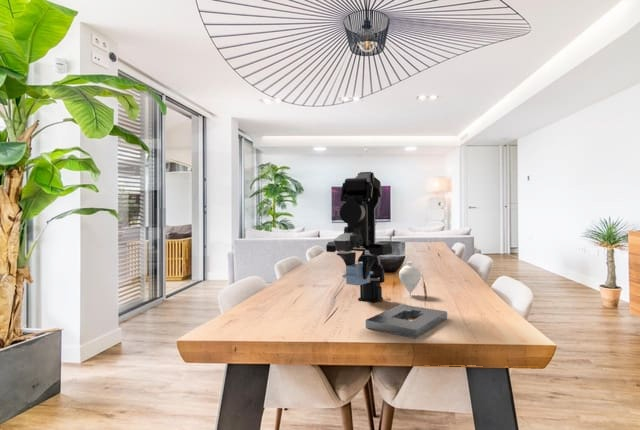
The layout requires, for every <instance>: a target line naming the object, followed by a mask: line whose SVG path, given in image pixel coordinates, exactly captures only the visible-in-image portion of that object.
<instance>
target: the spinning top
mask: <svg viewBox="0 0 640 430" xmlns="http://www.w3.org/2000/svg"><path fill="white" fill-rule="evenodd" d="M398 277H399V280H400V283H401V284H402V285H403V287H404V288H405V290H406V291H408V293H409V296H411V293H412V292H413V291H414V290H416V288H417V286H418V284H419V283H420V280H421V277H422V273H421V271H420V269H419V268H418V267H417V266H415V265H413V261H410V260H409V261H406V265H404V266H402V268H401V269H400V270H399V272H398Z"/></svg>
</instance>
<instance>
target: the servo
mask: <svg viewBox="0 0 640 430" xmlns="http://www.w3.org/2000/svg"><path fill="white" fill-rule="evenodd" d="M371 274H373V272H371V271H370V272H369V275H368V277H367V279H365V280H364V279H363V262H358V261H357V263H355V264H353V265H348V266H346V265H345V274H342V276H341V277H342V278H343V279H345V280H346V282H345V284H346V285H351V286H358V287H360V285H362V284H365V283H369V282H370V275H371Z"/></svg>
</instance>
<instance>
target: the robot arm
mask: <svg viewBox="0 0 640 430" xmlns="http://www.w3.org/2000/svg"><path fill="white" fill-rule="evenodd" d="M381 184H382V183H381V181H380V180H379V179H378V178H377V177H376V176H375V174H374V172H372V171H360V172H358V173H357V176H355V177H352V178H351V177H349V178H347V177H346V178H345V180H344V182H342V186H341V193H340V203H343V204H342V205H341V207H340V209H339V216H340V219H341V220H342V222H344V223H346V224H347V225H346V226H344V227H343V233H341V234H339V235H338V236H337V237H335V238H334V239H333V240H332V241H328V242H327V243H326V247H325V249H326V250H325V251H326V253H335V252H336V251H337V253H336V256H338V257H340V258H341V259H342V260H343V262H344V264H345V267H346V266H348V265H353V264H356V256H357V253H356V252H362V253H361V254H360V256H359V257H358V259H357V263H358V262H363V279H364V280H365V279H367V277H368V275H369V272H370V271H371V272H373V274H371V275H370V282H369V283H365V284H362V285H359V288H360V291H359V292H360V293H359V294H360V295H359V296H360V297H358V298H357V300H358V301H363V302H370V303H375V302H379V301H381V300H383V299H384V297H383V296H382V295H383V290H382V286H381V284H382V283H385V282H386V281H385V270H384V268H383V265H382V264H381V259H380V256H386V255H391V254H393V247H392V245H391V243H390V242H376V210H377V209H378V206H379V205H380V203H381V202H380V201H381V198H382V193H383V192H382V185H381Z"/></svg>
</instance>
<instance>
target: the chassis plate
mask: <svg viewBox="0 0 640 430" xmlns="http://www.w3.org/2000/svg"><path fill="white" fill-rule="evenodd" d="M404 318H405V319H404ZM411 318H415V319H413V320H407V319H411ZM446 320H448V311H446V310H439V309H434V308H427V307H421V306H415V305H407V304H403V303H401V304H398V305H396V306H395V307H392V308H390V309H387V310H385V311H383V312H381V313H378V314H375V315H374V316H371V317H369V318H367V319H365V328H366V329H371V330H375V331H379V332H384V333H389V334H393V335H399V336H403V337H408V338H412V339H418V338H419V337H421V336H423V335H424V334H425V333H428V332H429V331H430V330H432V329H434V328H435V327H436V326H439V325H440V324H441V323H443V322H444V321H446Z"/></svg>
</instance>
